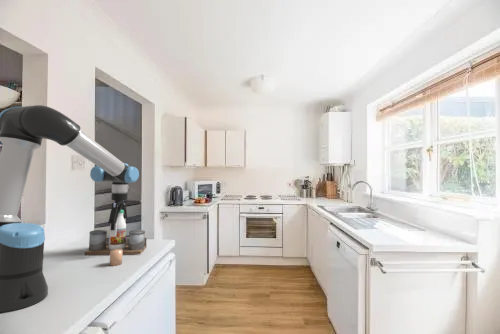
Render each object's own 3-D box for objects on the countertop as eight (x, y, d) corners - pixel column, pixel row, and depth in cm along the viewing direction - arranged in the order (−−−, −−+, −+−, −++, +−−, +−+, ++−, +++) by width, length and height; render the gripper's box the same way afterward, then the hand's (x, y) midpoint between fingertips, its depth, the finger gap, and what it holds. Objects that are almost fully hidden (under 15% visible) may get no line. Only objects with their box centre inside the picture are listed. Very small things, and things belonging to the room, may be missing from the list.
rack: (141, 254, 132) (141, 234, 133) (83, 255, 128) (84, 234, 129) (147, 247, 145) (148, 228, 145) (95, 247, 141) (96, 228, 141)
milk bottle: (105, 249, 134) (107, 210, 134) (116, 246, 141) (118, 208, 142) (117, 251, 131) (119, 211, 132) (128, 247, 139) (130, 209, 139)
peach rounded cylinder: (119, 265, 116) (120, 252, 116) (107, 266, 115) (108, 252, 115) (123, 262, 121) (124, 248, 121) (111, 262, 120) (112, 249, 120)
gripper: (119, 194, 125) (116, 239, 125) (134, 191, 150) (132, 228, 149) (102, 194, 124) (100, 239, 124) (120, 190, 149) (118, 228, 148)
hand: (117, 233), depth 136 cm, fingers open, 13 cm apart
